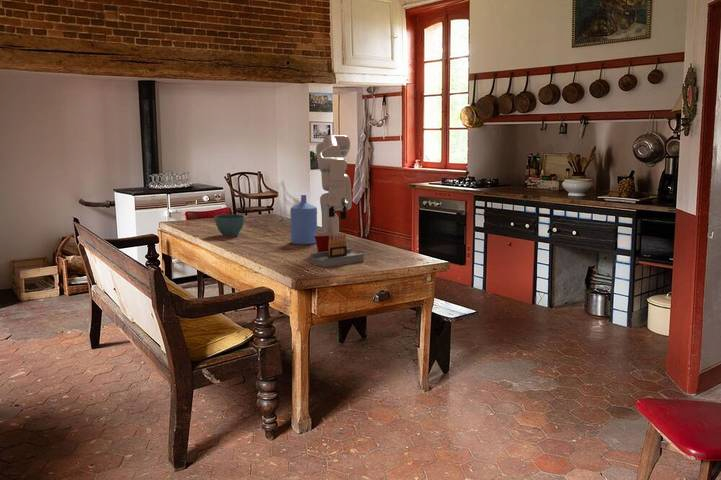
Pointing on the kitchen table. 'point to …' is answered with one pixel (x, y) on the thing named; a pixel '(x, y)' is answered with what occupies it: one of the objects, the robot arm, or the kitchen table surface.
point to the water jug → (303, 223)
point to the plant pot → (229, 224)
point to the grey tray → (335, 259)
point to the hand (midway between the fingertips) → (337, 218)
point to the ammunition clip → (337, 246)
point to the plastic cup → (322, 241)
